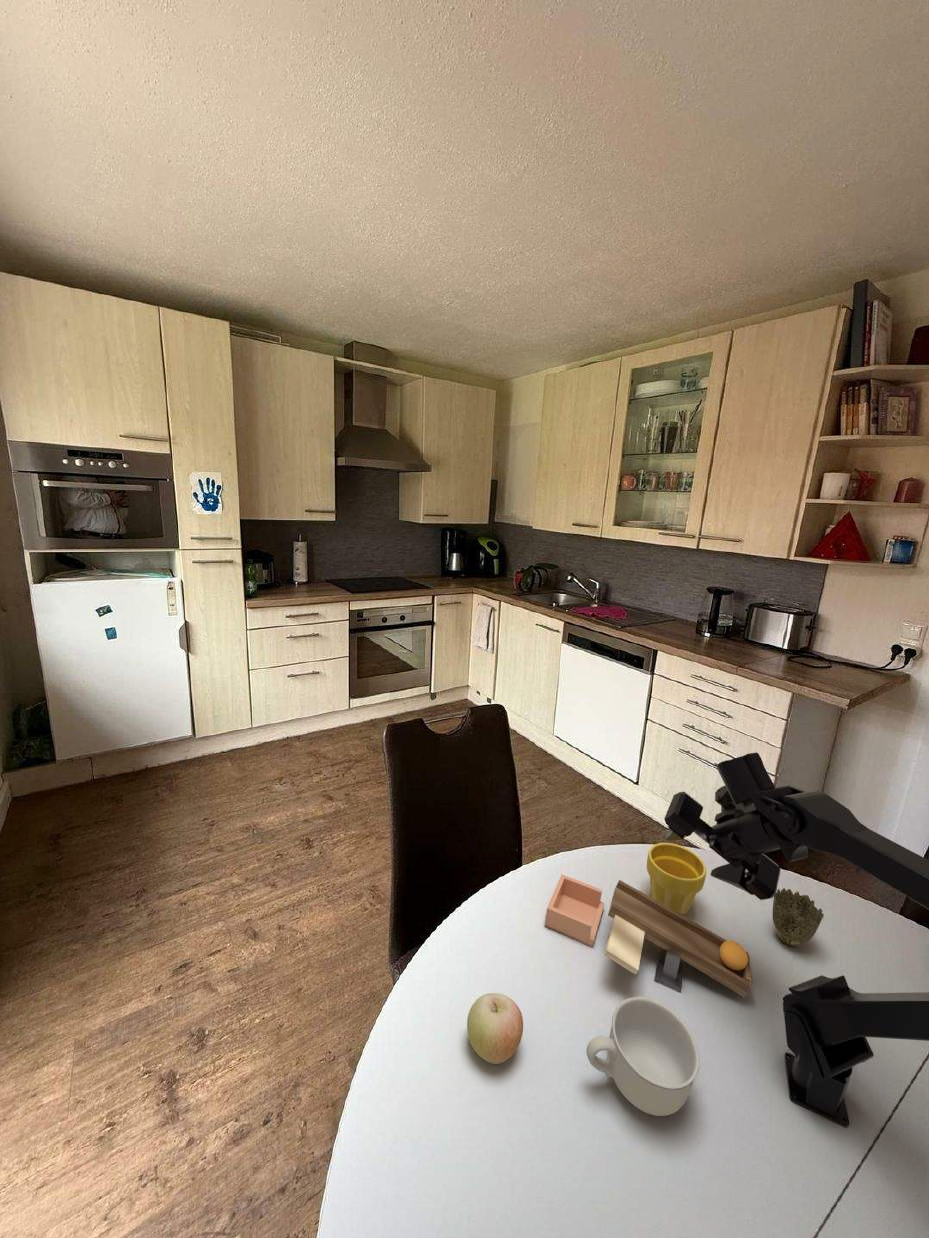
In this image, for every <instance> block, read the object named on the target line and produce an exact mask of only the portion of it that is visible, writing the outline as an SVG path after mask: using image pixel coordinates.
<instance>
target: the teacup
mask: <svg viewBox="0 0 929 1238" xmlns="http://www.w3.org/2000/svg"><path fill="white" fill-rule="evenodd" d="M609 1031H610V1032H609V1035H608V1036H609V1037H608V1036H604V1035H599V1036H595V1037H593V1038H592V1039H591V1040H590V1041H589V1042H588V1043H587V1046H586V1056H587V1059H588V1061H589V1063H590V1065H591V1066H592V1068H594V1069H596V1070H597V1071H599V1072H602V1073H604V1074H605V1075H606V1076H607V1077H609V1078H612V1080H613V1081H614V1083H615V1085H616V1087H617V1088H618V1090H619V1091H620V1093H621V1094H622V1095H623V1096H624V1098H625V1099H626V1100H627V1101H628V1102H630V1104H632V1105H633V1106H634V1107H635V1108H637V1109H639V1110H640V1111H642V1112H644V1113H647V1114H649V1115H651V1116H656V1117H657V1116H659V1117H665V1116H669V1115H670V1116H671V1115H672V1114H674V1113H676V1112H678V1111H679V1110H680V1109H681V1108H682V1107H683V1106H684V1104H686V1101H687V1099H688V1098H689V1094H690V1093H691V1090H692V1087H693V1084H694V1082H695V1080H696V1078H697V1076H698V1073H699V1070H700V1054H699V1049H698V1045H697V1042H696V1040H695V1038H694V1036H693V1034H692V1032H691V1030H690V1029H689V1027H688V1026H687V1025H686V1024H685V1022H684V1021H683V1020H682V1018H681V1017H680V1016H678V1015H677V1014H676V1013H675V1012H674V1011H673V1010H672V1009H670V1008H669V1007H668V1006H666V1005H664V1004H663V1003H661V1002H659V1001H656V1000H654V999H652V998H649V997H648V998H647V997H645V996H644V997H643V996H634V997H629V998H626V999H624V1000H622V1001H621V1002H619V1004H618V1005H617V1006H616V1007H615V1010H614V1012H613V1013H612V1019H611V1027H610V1030H609ZM602 1051H603V1052H604V1051H606V1052H607V1053H606V1054H607V1055H606V1057H607V1059H605V1058H602V1057H599V1056H598V1054H599V1053H601V1052H602Z"/></svg>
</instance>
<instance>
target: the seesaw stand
mask: <svg viewBox="0 0 929 1238" xmlns="http://www.w3.org/2000/svg"><path fill="white" fill-rule="evenodd" d="M677 913H678V912H677ZM679 914H681V913H679ZM681 915H683V916H684V917H685V915H684V914H681ZM684 963H685V961H683V960H682V959H680V954H678V953H676V952H673V951H671V950H669V949H667V950H665V949H663V948H661V947H660V946H658V949H657V957H656V964H655V965H656V966H655V972H654V973H655V974H654V980H653V981H654V982H656V983H658V984H661V985H663V986H665V987H667V988H670V989H672V990H674V991H677V992H678V993H681V992H682V988H683V976H684Z"/></svg>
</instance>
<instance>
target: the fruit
mask: <svg viewBox="0 0 929 1238" xmlns="http://www.w3.org/2000/svg"><path fill="white" fill-rule="evenodd" d="M466 1030H467V1031H466V1032H467V1036H468V1039H469V1042H470V1045H471V1046H472V1048H473V1050H474V1051H475V1053H476V1054H477V1055H478V1056H479V1057H480V1058H481V1059H483V1060H484V1061H486V1062H488V1063H490V1064H494V1065H495V1064H496V1065H497V1064H502V1063H504V1062H506V1061H507V1060H509V1059H510V1058H511V1057H512V1056H513V1055H514V1054H515V1052H516V1051H517V1049H518V1048H519V1045H520V1044H521V1042H522V1038H523V1033H524V1018H523V1014H522V1011H521V1009H520V1007H519V1006H518V1004H517V1003H516V1002H515V1001H514V1000H513V999H512V998H510V997H509V996H508V995H506V994H502V993H497V992H495V993H494V992H491V993H486V994H485V993H484V994H483V995H481V996H479V997H478V998H477V999H476V1000H475V1002H474V1003H473V1004H472V1005H471V1007H470V1009H469V1012H468V1014H467V1020H466Z"/></svg>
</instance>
